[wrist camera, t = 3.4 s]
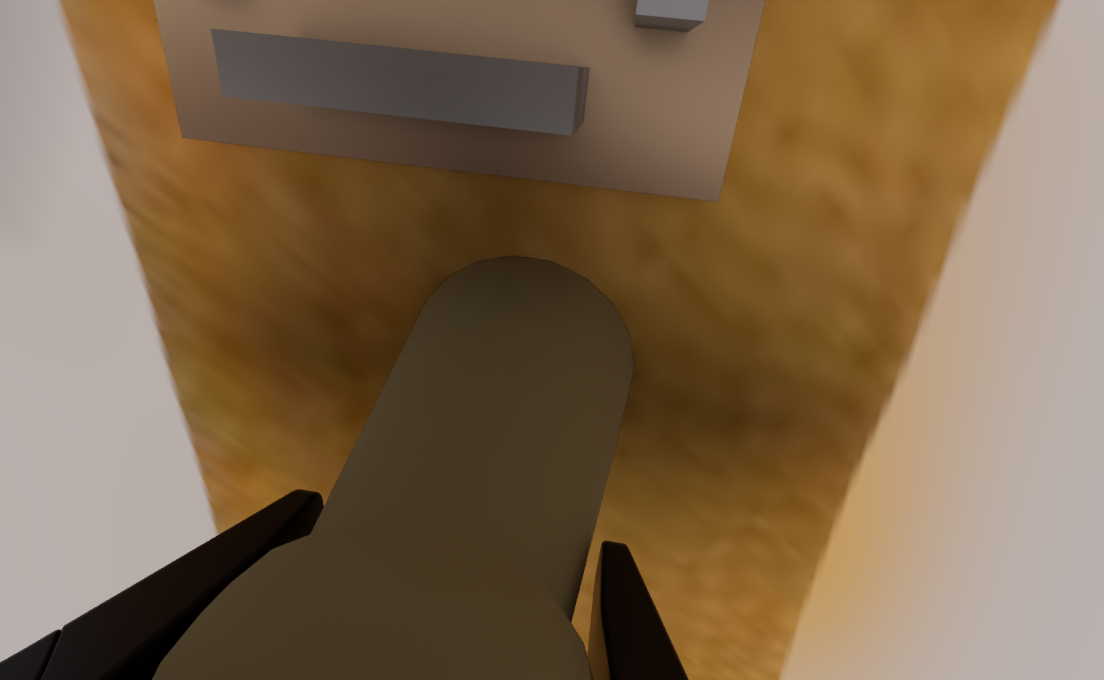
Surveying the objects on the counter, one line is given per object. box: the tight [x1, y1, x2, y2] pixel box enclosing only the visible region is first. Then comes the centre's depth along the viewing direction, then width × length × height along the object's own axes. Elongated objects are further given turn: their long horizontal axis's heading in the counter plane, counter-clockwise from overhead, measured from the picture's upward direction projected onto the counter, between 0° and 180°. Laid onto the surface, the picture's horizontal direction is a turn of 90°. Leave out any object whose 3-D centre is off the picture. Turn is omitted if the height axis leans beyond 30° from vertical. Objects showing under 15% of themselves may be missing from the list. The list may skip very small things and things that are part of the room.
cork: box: [152, 256, 634, 680], centre depth 10 cm, size 6×6×11 cm
